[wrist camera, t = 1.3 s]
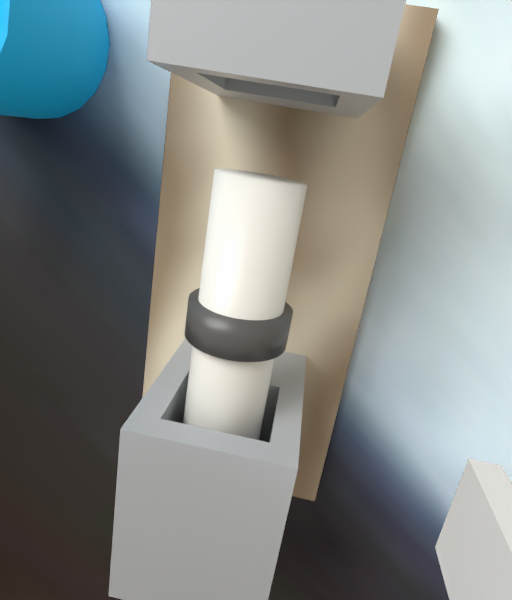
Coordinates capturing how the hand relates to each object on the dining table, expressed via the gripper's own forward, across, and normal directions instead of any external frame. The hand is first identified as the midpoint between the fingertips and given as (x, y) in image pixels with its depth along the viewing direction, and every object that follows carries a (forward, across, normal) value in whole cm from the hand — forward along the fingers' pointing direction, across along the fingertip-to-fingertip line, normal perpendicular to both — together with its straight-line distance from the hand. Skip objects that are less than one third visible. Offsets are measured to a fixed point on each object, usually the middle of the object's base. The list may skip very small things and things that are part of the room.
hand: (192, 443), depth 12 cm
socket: (+15, 0, +11) cm, 19 cm away
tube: (+11, 0, -3) cm, 11 cm away
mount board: (+16, 0, 0) cm, 16 cm away
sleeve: (+15, 0, -8) cm, 17 cm away
